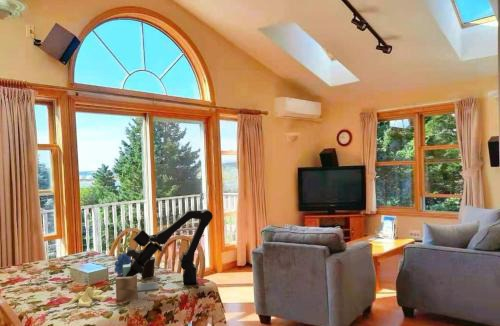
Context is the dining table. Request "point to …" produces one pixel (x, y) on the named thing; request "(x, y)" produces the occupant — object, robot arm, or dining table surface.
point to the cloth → (88, 297)
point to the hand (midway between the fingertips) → (125, 276)
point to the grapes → (121, 263)
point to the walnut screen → (126, 288)
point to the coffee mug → (149, 268)
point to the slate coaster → (147, 287)
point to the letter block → (126, 269)
